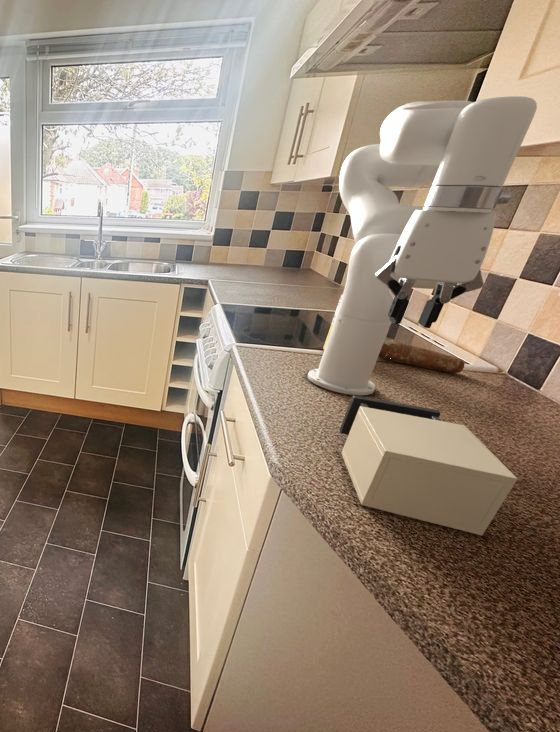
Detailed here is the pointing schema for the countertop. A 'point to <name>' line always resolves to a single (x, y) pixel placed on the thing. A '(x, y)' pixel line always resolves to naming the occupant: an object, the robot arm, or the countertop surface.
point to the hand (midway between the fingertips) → (409, 323)
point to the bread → (419, 356)
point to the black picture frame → (385, 406)
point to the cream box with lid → (425, 470)
